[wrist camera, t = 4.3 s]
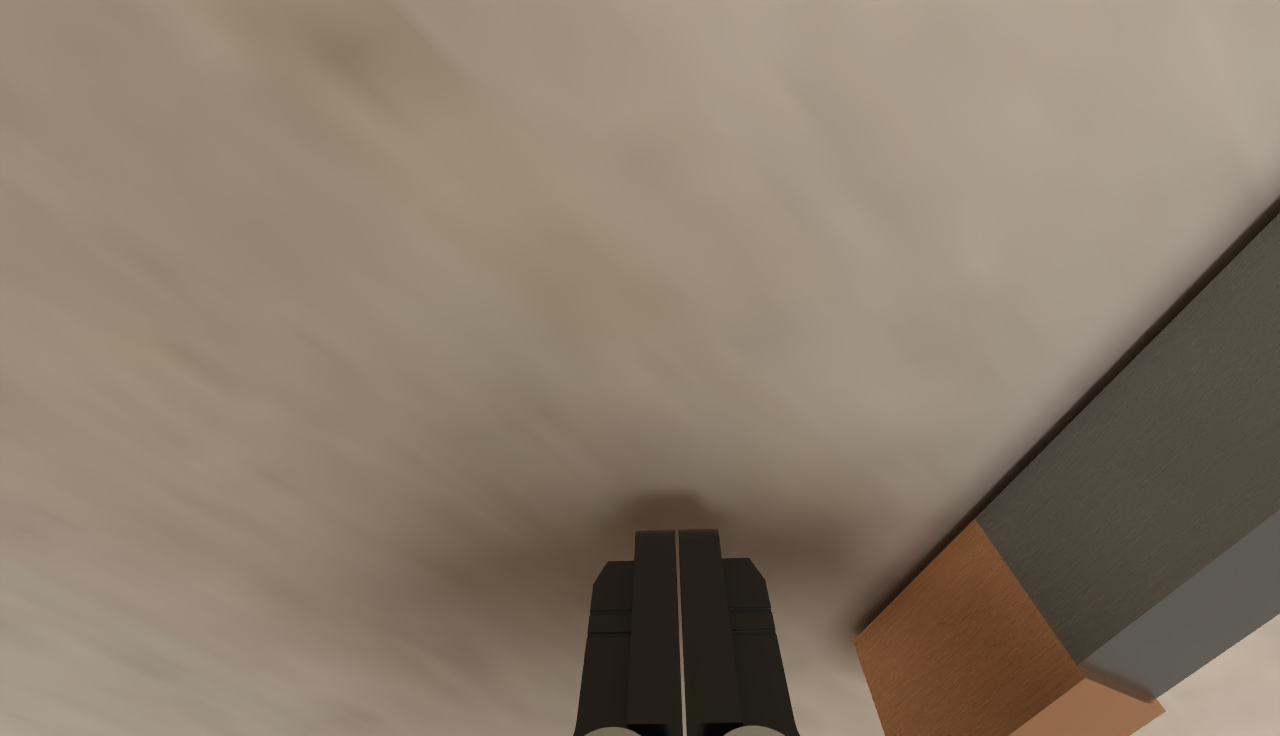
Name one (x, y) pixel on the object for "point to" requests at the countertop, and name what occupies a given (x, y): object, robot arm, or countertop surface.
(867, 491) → the countertop surface
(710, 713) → the robot arm
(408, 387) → the countertop surface
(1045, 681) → the tongs arm
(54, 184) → the countertop surface
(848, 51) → the countertop surface
